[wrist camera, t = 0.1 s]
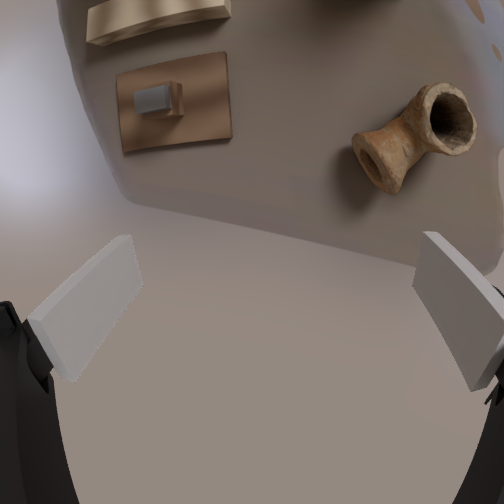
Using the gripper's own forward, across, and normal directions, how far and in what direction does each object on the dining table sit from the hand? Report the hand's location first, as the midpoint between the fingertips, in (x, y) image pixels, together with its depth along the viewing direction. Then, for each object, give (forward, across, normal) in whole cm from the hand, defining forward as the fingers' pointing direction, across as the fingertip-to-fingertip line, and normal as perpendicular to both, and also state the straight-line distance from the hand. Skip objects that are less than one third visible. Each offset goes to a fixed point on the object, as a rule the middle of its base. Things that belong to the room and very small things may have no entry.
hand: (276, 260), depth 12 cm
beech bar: (+28, -16, +25) cm, 41 cm away
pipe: (+28, +17, +5) cm, 33 cm away
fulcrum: (+28, -14, +10) cm, 33 cm away
